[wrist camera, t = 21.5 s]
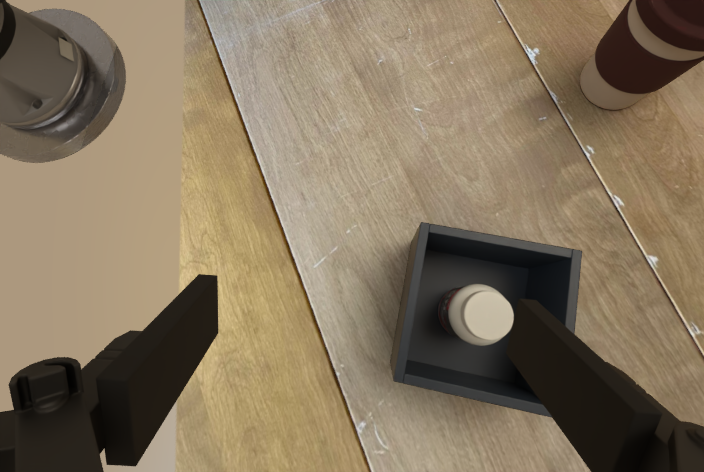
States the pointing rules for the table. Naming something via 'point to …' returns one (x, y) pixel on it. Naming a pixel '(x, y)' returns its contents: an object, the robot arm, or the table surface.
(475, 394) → the waste bin
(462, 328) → the pill bottle
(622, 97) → the coffee cup
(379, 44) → the table surface
